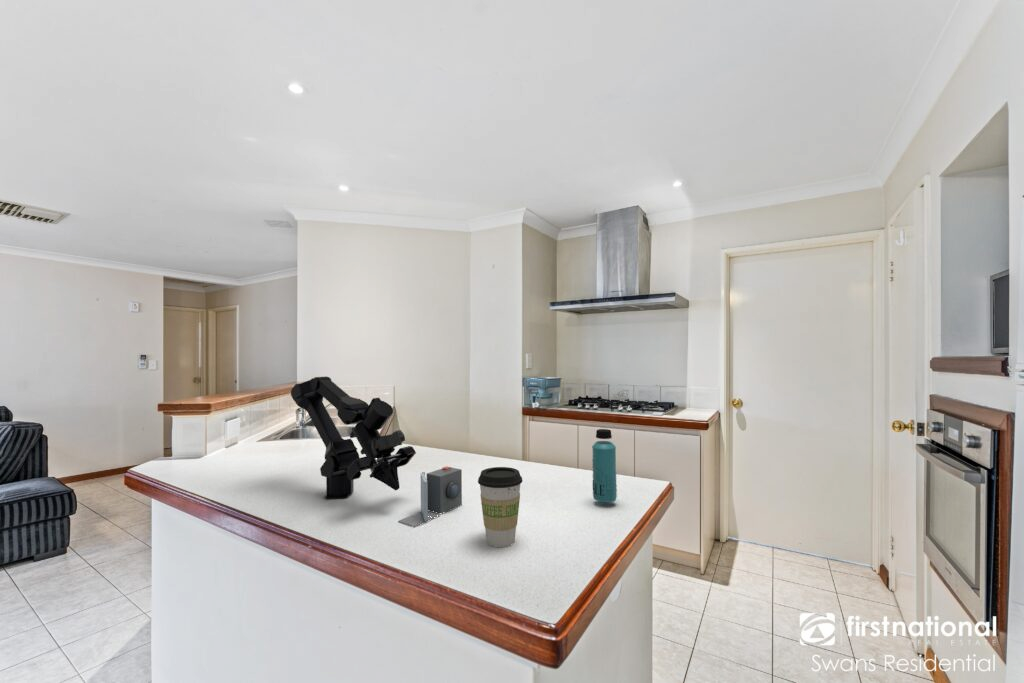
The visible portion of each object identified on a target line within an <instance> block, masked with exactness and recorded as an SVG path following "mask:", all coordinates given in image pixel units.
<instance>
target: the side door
mask: <svg viewBox="0 0 1024 683" xmlns="http://www.w3.org/2000/svg"><path fill="white" fill-rule="evenodd" d="M420 512H422V515H423V518H424V521H428V512H429V511H428V482H427V476H426V471H423V472H420ZM428 522H429V521H428Z"/></svg>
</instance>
